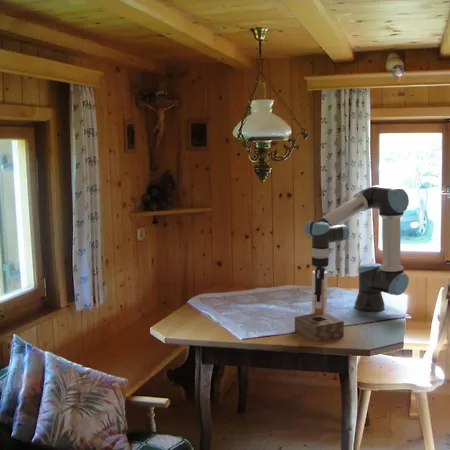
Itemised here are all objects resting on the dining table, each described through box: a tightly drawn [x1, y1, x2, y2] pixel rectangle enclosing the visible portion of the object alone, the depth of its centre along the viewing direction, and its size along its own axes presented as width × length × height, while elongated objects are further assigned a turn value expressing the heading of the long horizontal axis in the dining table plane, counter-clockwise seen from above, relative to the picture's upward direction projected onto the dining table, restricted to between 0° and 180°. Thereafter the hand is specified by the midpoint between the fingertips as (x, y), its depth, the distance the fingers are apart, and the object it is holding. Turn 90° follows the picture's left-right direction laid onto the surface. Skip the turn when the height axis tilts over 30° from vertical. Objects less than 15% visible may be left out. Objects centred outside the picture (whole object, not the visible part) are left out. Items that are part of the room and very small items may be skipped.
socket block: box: [294, 312, 345, 342], centre depth 292 cm, size 16×16×7 cm
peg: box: [315, 280, 324, 316], centre depth 290 cm, size 4×4×16 cm
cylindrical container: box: [311, 270, 328, 314], centre depth 308 cm, size 7×7×25 cm
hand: (319, 306), depth 291 cm, fingers closed on peg, 4 cm apart
